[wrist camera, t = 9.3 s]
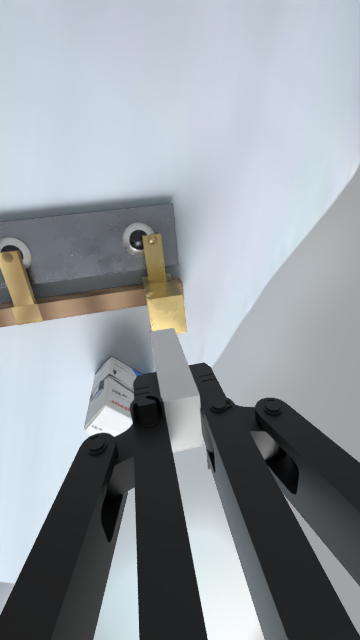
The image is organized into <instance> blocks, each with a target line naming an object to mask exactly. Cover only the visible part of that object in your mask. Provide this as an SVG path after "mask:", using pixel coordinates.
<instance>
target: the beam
mask: <svg viewBox="0 0 360 640" xmlns="http://www.w3.org/2000/svg"><path fill="white" fill-rule="evenodd" d="M0 268H1V271H2V274H3V276H4V279H5V282H6V285H7V287H8V290H9V293H10V296H11V298H12V301H13V302H9V303H2V304H0V327H6V326H12V325H22V324H29V323H35V322H42V321H45V320H52V319H58V318H65V317H71V316H78V315H85V314H91V313H98V312H104V311H111V310H117V309H124V308H130V307H137V306H144V305H147V304H146V298H145V291H144V285H143V284H136V285H129V286H122V287H115V288H108V289H101V290H94V291H87V292H79V293H72V294H65V295H58V296H51V297H44V298H37V299H35V297H34V294H33V291H32V288H31V285H30V282H29V279H28V276H27V273H26V270H25V267H24V264H23V260H22V257H21V254H20V251H19V250H16V251H8V252H0ZM174 281H175V283H176V284H177V286H178V287H179V289H180V290H181V292H182V294H183V285H182V282H181V281H180V279H179V278H178V279H174ZM183 298H184V295H183Z"/></svg>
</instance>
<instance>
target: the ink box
mask: <svg viewBox="0 0 360 640" xmlns="http://www.w3.org/2000/svg"><path fill="white" fill-rule="evenodd" d="M137 375H142V374H140V373H139V372H137V371H135V370H134V369H132V368H130V367H128V366H127V365H125V364H123V363H122V362H120V361H118V360H117V359H115V358H113V357H111V358H109V359H108V360H107V361H106V363H105V364H104V365H103V366H102V367H101V368H100V370H99V371H98V372H97V373H96V375H95V378H94V383H93V387H92V392H91V397H90V401H89V406H88V411H87V415H86V421H85V425H84V430H85V431H86V432H87V433H88V434H90V435H94V434H97V433H103V432H104V433H109V434H111V435H112V436H114V437H115V436H117V435H119V434H121V433H123V432H124V431H126V430H127V429H128V428H129V427H130V426H131V425H132V424H133V422H132V418H131V413H130V409H129V408H130V404H131V403H132V401H133V400H134V385H133V382H134V380H135V379H136V377H137Z"/></svg>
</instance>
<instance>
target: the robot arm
mask: <svg viewBox="0 0 360 640" xmlns="http://www.w3.org/2000/svg"><path fill="white" fill-rule="evenodd" d="M150 338H151V344H152V350H153V357H154V363H155V369H156V372H154V373H148V374H143V375H137V377H136V379H135V380H134V382H133V385H134V400H133V401H132V403H131V404H130V408H129V409H130V413H131V418H132V422H133V424H132V425H131V426H130V427H129V428H128V429H127V430H126V431H124V432H123V433H121V434H119V435H117V436H115V437H114V436H112V435H111V434H109V433H104V432H103V433H97V434H94V435H92V436H90V437H89V438H87V439H86V440H85V441H84V442H83V443H82V445H81V446H80V448H79V450H78V452H77V454H76V456H75V459H74V461H73V463H72V465H71V467H70V469H69V471H68V473H67V475H66V478H65V480H64V482H63V484H62V486H61V488H60V490H59V492H58V494H57V497H56V499H55V501H54V503H53V505H52V507H51V509H50V511H49V513H48V516H47V518H46V520H45V522H44V524H43V526H42V528H41V530H40V532H39V535H38V537H37V539H36V541H35V543H34V545H33V547H32V549H31V552H30V554H29V556H28V558H27V560H26V562H25V564H24V566H23V568H22V571H21V573H20V575H19V577H18V579H17V581H16V583H15V586H14V587H13V590H12V592H11V594H10V596H9V598H8V600H7V602H6V604H5V607H4V609H3V611H2V613H1V615H0V640H93V638H94V634H95V629H96V626H97V621H98V617H99V613H100V609H101V604H102V600H103V596H104V592H105V587H106V583H107V579H108V575H109V570H110V566H111V562H112V558H113V554H114V549H115V545H116V541H117V537H118V533H119V529H120V524H121V520H122V516H123V512H124V507H125V503H126V499H127V495H128V491H129V490H131V489H132V488H134V487H135V503H136V504H135V507H136V538H137V573H138V605H139V637H140V640H208V639H207V633H206V628H205V623H204V617H203V612H202V607H201V602H200V596H199V591H198V585H197V580H196V575H195V570H194V564H193V559H192V553H191V548H190V543H189V537H188V532H187V527H186V521H185V516H184V511H183V505H182V500H181V495H180V489H179V484H178V479H177V473H176V468H175V463H174V458H173V452H177V451H182V450H186V449H191V448H195V447H199V446H204V441H205V445H206V449H207V462H208V469H211V470H212V474H213V477H214V480H215V483H216V486H217V490H218V492H219V496H220V499H221V502H222V505H223V508H224V512H225V515H226V518H227V521H228V524H229V528H230V531H231V534H232V537H233V540H234V543H235V547H236V550H237V553H238V556H239V559H240V562H241V566H242V569H243V572H244V575H245V578H246V581H247V585H248V588H249V591H250V594H251V597H252V601H253V604H254V607H255V610H256V613H257V616H258V620H259V623H260V626H261V629H262V632H263V635H264V639H265V640H360V636H359V634H358V632H357V631H356V629H355V627H354V625H353V624H352V622H351V620H350V618H349V616H348V614H347V612H346V610H345V609H344V607H343V605H342V603H341V601H340V599H339V597H338V595H337V594H336V592H335V590H334V588H333V586H332V585H331V582H330V581H329V579H328V577H327V575H326V573H325V571H324V570H323V568H322V566H321V564H320V562H319V560H318V558H317V557H316V555H315V553H314V551H313V549H312V547H311V545H310V544H309V542H308V540H307V538H306V536H305V534H304V532H303V530H302V529H301V527H300V525H299V523H298V521H297V519H296V517H295V515H294V514H293V512H292V510H291V508H290V506H289V504H288V502H287V501H286V499H285V497H284V495H285V496H286V498H287V499H288V500H289V501H290V502H291V504H292V505H293V506H294V507H295V508H296V510H297V511H298V512H299V513H300V514H301V516H302V517H303V518H304V519H305V521H306V522H307V523H308V524H309V525H310V527H311V528H312V529H313V530H314V531H315V533H316V534H317V535H318V536H319V537H320V539H321V540H322V541H323V542H324V544H325V545H326V546H327V547H328V548H329V550H330V551H331V552H332V553H333V554H334V556H335V557H336V558H337V559H338V560H339V562H340V563H341V564H342V565H343V566H344V568H345V569H346V570H347V571H348V573H349V574H350V575H351V576H352V577H353V579H354V580H355V581H356V582H357V583H358V585H359V586H360V463H359V462H358V461H357V460H356V459H354V458H353V457H352V456H351V455H349V454H348V453H347V452H346V451H344V450H343V449H342V448H341V447H340V446H338V445H337V444H336V443H335V442H333V441H332V440H330V438H328V437H327V436H326V435H325V434H323V433H322V432H321V431H320V430H319V429H317V428H316V427H315V426H313V425H312V424H311V423H310V422H309V421H307V420H306V419H305V418H304V417H302V416H301V415H300V414H299V413H297V412H296V411H295V410H294V409H293V408H291V407H290V406H289V405H287V404H286V403H285V402H283V401H282V400H279V399H276V398H264V399H261V400H259V401H258V402H257V404H256V406H255V407H242V406H238V405H235V404H234V403H233V402H232V401H231V400H230V399H228V398H227V397H226V396H225V394H224V392H223V390H222V388H221V386H220V384H219V382H218V381H217V379H216V377H215V375H214V373H213V371H212V369H211V367H210V366H208V365H207V364H205V363H199V364H194V365H188V363H187V360H186V358H185V355H184V353H183V350H182V347H181V345H180V342H179V340H178V337H177V334H176V332H175V329H174V328H168V329H162V330H156V331H150ZM283 494H284V495H283Z"/></svg>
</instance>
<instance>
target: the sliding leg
mask: <svg viewBox="0 0 360 640" xmlns="http://www.w3.org/2000/svg"><path fill="white" fill-rule="evenodd" d="M142 239H143V246H144V253H145V260H146V267H147V273H148V276H144V277H142V280H143V285H144V291H145V298H146V304H147V305H146V306H147V311H148V316H149V321H150V326H151V331H156V330H162V329H168V328H174V329H175V332H176V334H178V333H184V332H187V329H186V319H185V308H184V298H183V294H182V292H181V290H180V289H179V287H178V286H177V284H176V283H175V281H174V279H173V278H172V276H171V275H170V273H165V264H164V256H163V248H162V239H161V234H160V233H157V234H149V235H142Z"/></svg>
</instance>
